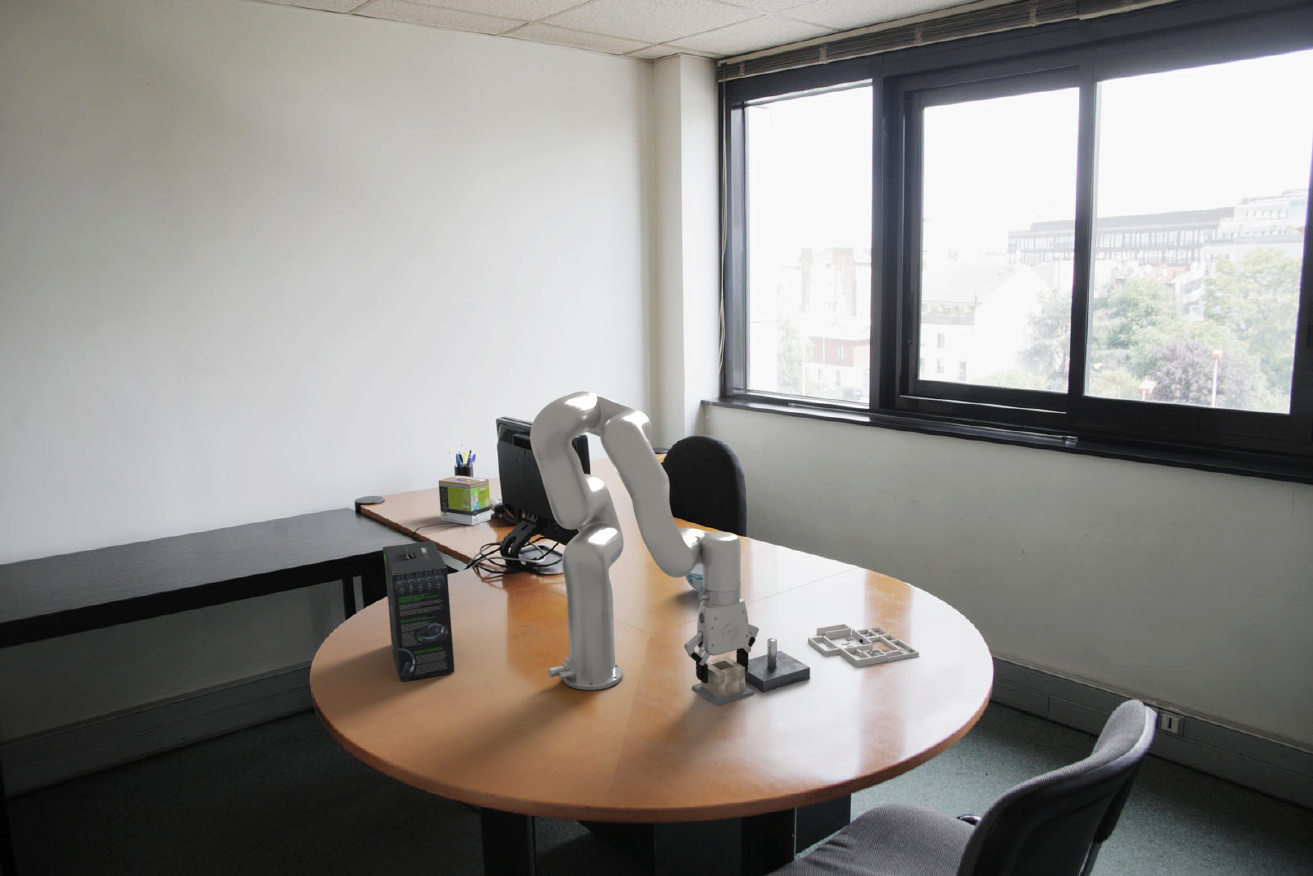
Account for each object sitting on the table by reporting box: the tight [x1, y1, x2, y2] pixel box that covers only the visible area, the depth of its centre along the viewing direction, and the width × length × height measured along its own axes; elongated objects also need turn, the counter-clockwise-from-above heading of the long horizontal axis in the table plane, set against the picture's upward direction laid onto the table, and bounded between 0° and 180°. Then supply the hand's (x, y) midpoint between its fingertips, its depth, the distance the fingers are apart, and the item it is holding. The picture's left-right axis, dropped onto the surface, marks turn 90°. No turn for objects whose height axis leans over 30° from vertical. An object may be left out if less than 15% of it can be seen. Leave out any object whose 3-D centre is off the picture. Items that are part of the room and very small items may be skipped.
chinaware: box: [684, 564, 703, 595], centre depth 241 cm, size 15×15×8 cm
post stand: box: [745, 637, 811, 694], centre depth 191 cm, size 12×10×8 cm
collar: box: [700, 655, 746, 698], centre depth 185 cm, size 6×6×5 cm
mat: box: [691, 682, 755, 706], centre depth 185 cm, size 9×9×1 cm
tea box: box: [438, 475, 492, 526], centre depth 317 cm, size 15×10×15 cm, turn 58°
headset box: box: [382, 540, 455, 682], centre depth 202 cm, size 22×12×26 cm, turn 21°
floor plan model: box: [807, 623, 920, 668], centre depth 205 cm, size 19×25×2 cm
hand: (722, 675), depth 185 cm, fingers open, 9 cm apart
